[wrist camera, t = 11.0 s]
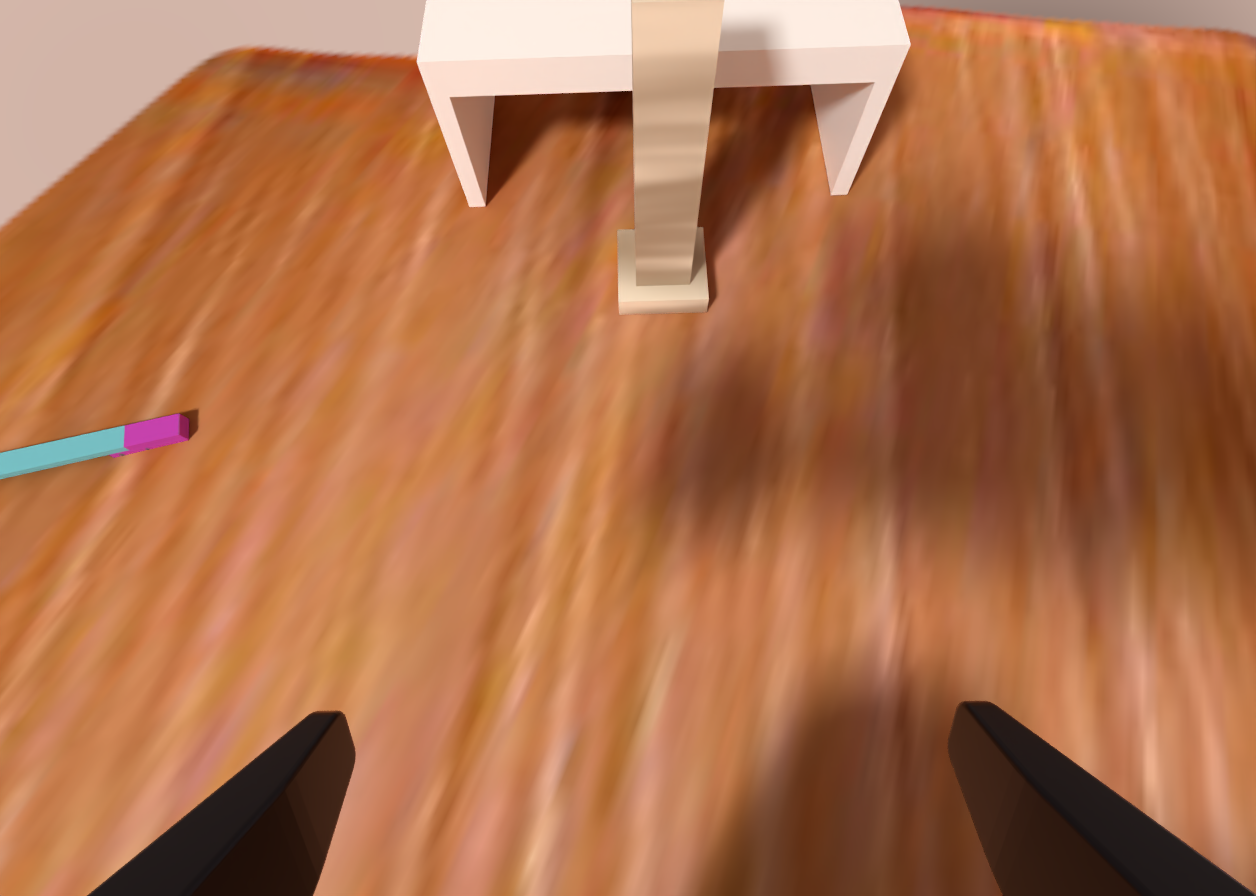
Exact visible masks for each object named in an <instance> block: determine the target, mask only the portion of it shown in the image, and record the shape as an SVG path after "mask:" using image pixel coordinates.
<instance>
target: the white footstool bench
mask: <svg viewBox="0 0 1256 896" xmlns="http://www.w3.org/2000/svg"><path fill="white" fill-rule="evenodd" d="M910 45H911V44H910V40H909V37H908V33H907V29H906V26H905V22H904V19H903V15H902V12H901V8H900V4H899V1H898V0H724V9H723V17H722V25H721V33H720V41H719V49H718V58H717V66H716V74H715V82H714V88H724V87H753V86H782V85H811V90H812V96H813V101H814V106H815V112H816V117H817V123H818V128H819V133H820V139H821V144H822V150H823V155H824V160H825V166H826V171H827V177H828V182H829V187H830V193H831V195H847V194H848V191H849V189H850V187H851V184H852V182H853V180H854V177H855V175H856V173H857V170H858V168H859V165H860V163H861V161H862V158H863V156H864V154H865V151H866V149H867V147H868V144H869V142H870V139H871V137H872V135H873V132H874V130H875V128H876V125H877V123H878V121H879V118H880V116H881V113H882V111H883V109H884V106H885V104H886V102H887V99H888V97H889V95H890V92H891V90H892V88H893V85H894V83H895V80H896V78H897V76H898V73H899V71H900V69H901V66H902V64H903V62H904V59H905V57H906V54H907V52H908V50H909V47H910ZM417 64H418V67H419V70H420V72H421V75H422V78H423V81H424V83H425V86H426V89H427V92H428V94H429V97H430V100H431V102H432V105H433V108H434V111H435V113H436V116H437V119H438V122H439V124H440V127H441V130H442V133H443V135H444V138H445V141H446V144H447V146H448V149H449V152H450V155H451V157H452V160H453V163H454V165H455V168H456V171H457V174H458V176H459V179H460V182H461V185H462V187H463V190H464V193H465V196H466V198H467V201H468V204H469V207H483V206H486V195H487V183H488V172H489V160H490V148H491V136H492V124H493V112H494V100H495V95H524V94H553V93H581V92H610V91H632V28H631V0H426V6H425V12H424V19H423V25H422V32H421V39H420V45H419V51H418V57H417Z"/></svg>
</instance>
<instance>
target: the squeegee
mask: <svg viewBox="0 0 1256 896" xmlns="http://www.w3.org/2000/svg"><path fill="white" fill-rule="evenodd" d="M187 440H189V419H188V418H186V417H185V416H183V415H181V414H180V413H179V414H174V415H170V416H165V417H161V418H156V419H152V420H147V421H143V422H138V423H134V424H129V425H125V426H120V427H116V428H111V429H107V430H102V431H97V432H93V433H88V434H84V435H79V436H75V437H70V438H66V439H61V440H57V441H52V442H48V443H43V444H39V445H34V446H30V447H25V448H21V449H16V450H12V451H7V452H3V453H0V479H4V478H8V477H13V476H17V475H21V474H26V473H30V472H35V471H39V470H44V469H48V468H52V467H57V466H61V465H66V464H70V463H75V462H79V461H84V460H88V459H92V458H97V457H101V456H106V455H110V456H112V457H114V458H115V457H119V456H124V455H128V454H132V453H136V452H140V451H144V450H149V449H153V448H157V447H161V446H166V445H170V444H174V443H178V442H183V441H187Z"/></svg>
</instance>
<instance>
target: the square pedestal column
mask: <svg viewBox="0 0 1256 896" xmlns="http://www.w3.org/2000/svg"><path fill="white" fill-rule="evenodd" d="M723 9H724V0H631V28H632V93H633V157H634V221H635V229H625V230H617V240H618V298H619V315H627V314H661V313H695V312H707V307H708V302H709V294H708V282H707V270H706V258H705V245H704V233H703V227H697V221H698V213H699V205H700V197H701V189H702V181H703V172H704V164H705V156H706V148H707V140H708V131H709V123H710V115H711V107H712V99H713V90H714V82H715V74H716V66H717V58H718V49H719V41H720V33H721V25H722V17H723Z"/></svg>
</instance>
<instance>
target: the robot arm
mask: <svg viewBox="0 0 1256 896" xmlns="http://www.w3.org/2000/svg"><path fill="white" fill-rule="evenodd" d="M948 753H949V757H950V760H951V763H952V766H953V768H954V771H955V774H956V776H957V779H958V782H959V785H960V787H961V790H962V793H963V795H964V798H965V801H966V803H967V806H968V809H969V812H970V814H971V817H972V820H973V822H974V825H975V828H976V830H977V833H978V836H979V839H980V841H981V844H982V847H983V849H984V852H985V855H986V857H987V860H988V862H989V865H990V867H991V870H992V872H993V875H994V877H995V879H996V881H997V883H998V886H999V888H1000V890H1001V892H1002V894H1003V896H1256V894H1254V893H1253V892H1252V891H1250V890H1249V889H1248V888H1246V887H1245V886H1243V885H1242V884H1241V883H1239V882H1238V881H1237V880H1235V879H1234V878H1232V877H1231V876H1230V875H1228V874H1227V873H1226V872H1224V871H1223V870H1221V869H1220V868H1219V867H1217V866H1216V865H1215V864H1213V863H1212V862H1211V861H1209V860H1208V859H1206V858H1205V857H1204V856H1202V855H1201V854H1200V853H1198V852H1197V851H1195V850H1194V849H1193V848H1191V847H1190V846H1189V845H1187V844H1186V843H1184V842H1183V841H1182V840H1180V839H1179V838H1178V837H1176V836H1175V835H1173V834H1172V833H1171V832H1169V831H1168V830H1167V829H1165V828H1164V827H1162V826H1161V825H1160V824H1158V823H1157V822H1156V821H1154V820H1153V819H1152V818H1150V817H1149V816H1147V815H1146V814H1145V813H1143V812H1142V811H1141V810H1139V809H1138V808H1136V807H1135V806H1134V805H1132V804H1131V803H1130V802H1128V801H1127V800H1125V799H1124V798H1123V797H1121V796H1120V795H1119V794H1117V793H1116V792H1114V791H1113V790H1112V789H1110V788H1109V787H1108V786H1106V785H1105V784H1103V783H1102V782H1101V781H1099V780H1098V779H1097V778H1095V777H1094V776H1092V775H1091V774H1090V773H1088V772H1087V771H1086V770H1084V769H1083V768H1082V767H1080V766H1079V765H1077V764H1076V763H1075V762H1073V761H1072V760H1071V759H1069V758H1068V757H1066V756H1065V755H1064V754H1062V753H1061V752H1060V751H1058V750H1057V749H1055V748H1054V747H1053V746H1051V745H1050V744H1049V743H1047V742H1046V741H1044V740H1043V739H1042V738H1040V737H1039V736H1038V735H1036V734H1035V733H1033V732H1032V731H1031V730H1029V729H1028V728H1027V727H1025V726H1024V725H1022V724H1021V723H1020V722H1018V721H1017V720H1016V719H1014V718H1013V717H1012V716H1010V715H1009V714H1007V713H1006V712H1005V711H1003V710H1002V709H1001V708H999V707H998V706H996V705H995V704H993V703H991V702H988V701H964V702H961V703H960V704H959V705H958V706H957V708H956V712H955V716H954V719H953V723H952V727H951V731H950V735H949V738H948ZM355 756H356V754H355V747H354V743H353V740H352V736H351V733H350V730H349V726H348V723H347V720H346V717H345V715H344V714H343V713H342V712H341V711H316V712H313V713H311V714H309V715H308V716H307V717H305V718H304V719H303V720H302V721H301V722H299V723H298V724H297V725H296V726H294V727H293V728H292V729H291V730H289V731H288V732H287V733H286V734H285V735H283V736H282V737H281V738H280V739H278V740H277V741H276V742H275V743H274V744H272V745H271V746H270V747H269V748H267V749H266V750H265V751H264V752H263V753H261V754H260V755H259V756H258V757H256V758H255V759H254V760H253V761H252V762H250V763H249V764H248V765H247V766H245V767H244V768H243V769H242V770H240V771H239V772H238V773H237V774H236V775H234V776H233V777H232V778H231V779H229V780H228V781H227V782H226V783H225V784H223V785H222V786H221V787H220V788H218V789H217V790H216V791H215V792H214V793H212V794H211V795H210V796H209V797H207V798H206V799H205V800H204V801H203V802H201V803H200V804H199V805H198V806H196V807H195V808H194V809H193V810H191V811H190V812H189V813H188V814H187V815H185V816H184V817H183V818H182V819H180V820H179V821H178V822H177V823H176V824H174V825H173V826H172V827H171V828H169V829H168V830H167V831H166V832H165V833H163V834H162V835H161V836H160V837H158V838H157V839H156V840H155V841H154V842H152V843H151V844H150V845H149V846H147V847H146V848H145V849H144V850H143V851H141V852H140V853H139V854H138V855H136V856H135V857H134V858H133V859H131V860H130V861H129V862H128V863H127V864H125V865H124V866H123V867H122V868H120V869H119V870H118V871H117V872H116V873H114V874H113V875H112V876H111V877H109V878H108V879H107V880H106V881H105V882H103V883H102V884H101V885H100V886H98V887H97V888H96V889H95V890H94V891H92V892H91V893H90V894H89V895H87V896H313V894H314V892H315V889H316V886H317V884H318V881H319V878H320V875H321V872H322V869H323V866H324V863H325V860H326V857H327V854H328V850H329V847H330V844H331V841H332V837H333V834H334V831H335V828H336V824H337V821H338V818H339V814H340V811H341V808H342V805H343V801H344V798H345V795H346V791H347V788H348V785H349V782H350V778H351V775H352V772H353V768H354V764H355Z"/></svg>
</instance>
